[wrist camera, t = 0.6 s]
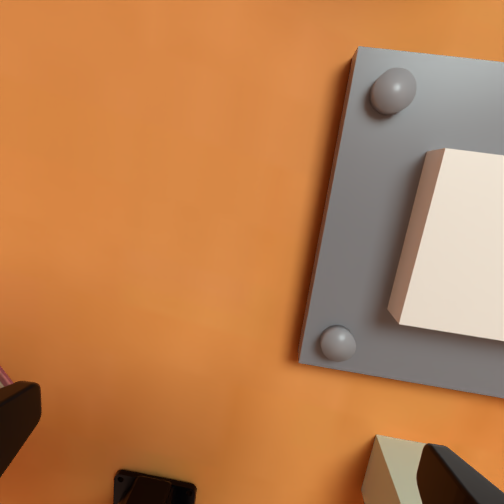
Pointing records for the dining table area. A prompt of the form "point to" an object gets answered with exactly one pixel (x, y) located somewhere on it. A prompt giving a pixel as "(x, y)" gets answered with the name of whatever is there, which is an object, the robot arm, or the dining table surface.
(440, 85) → the tower base
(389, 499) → the sage brick
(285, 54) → the dining table surface
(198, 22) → the dining table surface
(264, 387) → the dining table surface
